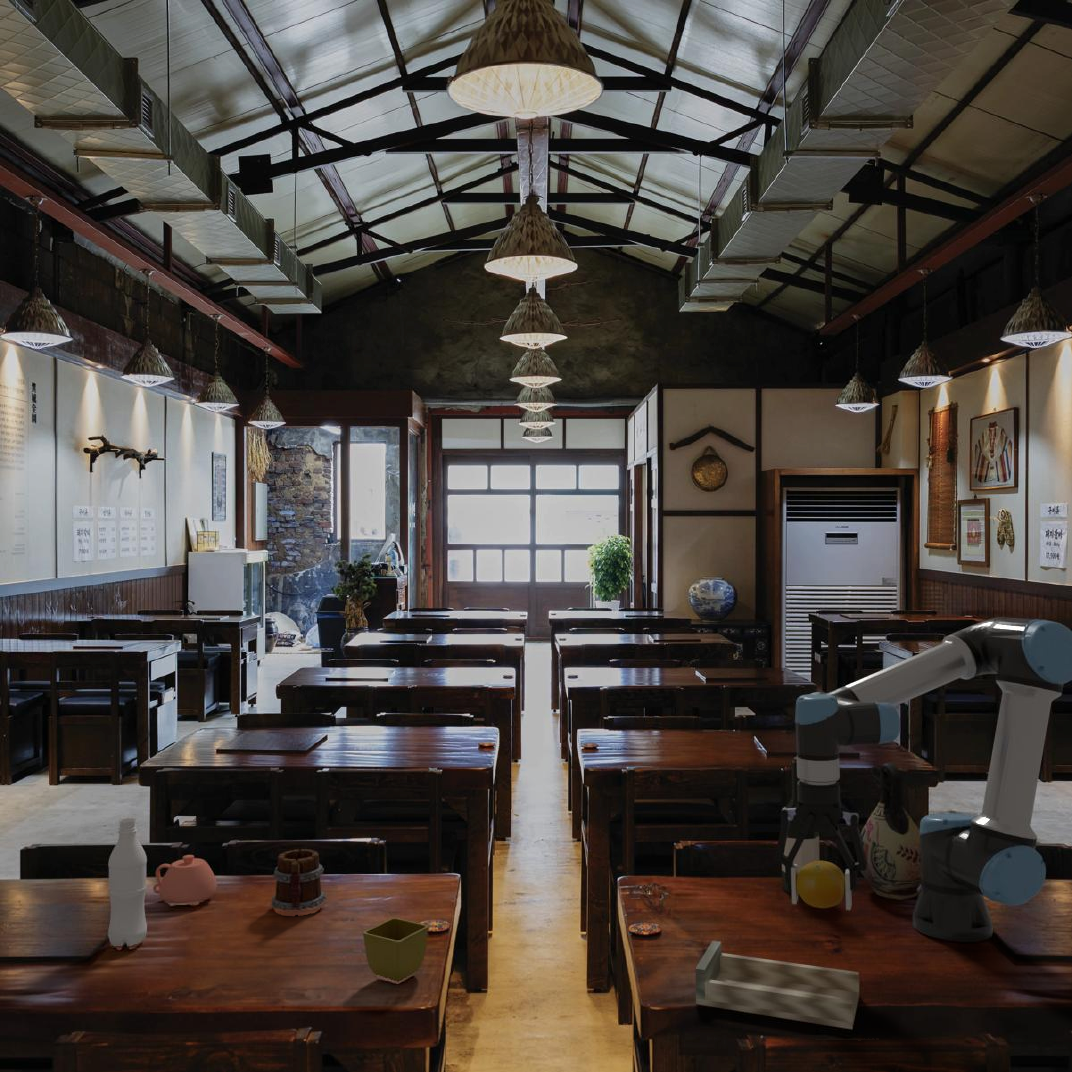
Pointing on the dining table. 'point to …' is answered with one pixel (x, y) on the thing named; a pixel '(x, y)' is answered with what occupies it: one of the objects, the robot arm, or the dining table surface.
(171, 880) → the sugar bowl
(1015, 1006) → the dining table surface
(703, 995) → the channel
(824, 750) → the robot arm
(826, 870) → the fruit
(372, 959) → the flower pot
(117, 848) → the water bottle
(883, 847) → the ceramic jug
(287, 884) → the mug
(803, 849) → the wine bottle
